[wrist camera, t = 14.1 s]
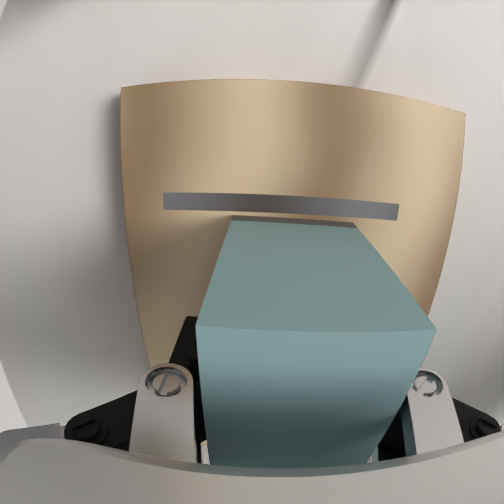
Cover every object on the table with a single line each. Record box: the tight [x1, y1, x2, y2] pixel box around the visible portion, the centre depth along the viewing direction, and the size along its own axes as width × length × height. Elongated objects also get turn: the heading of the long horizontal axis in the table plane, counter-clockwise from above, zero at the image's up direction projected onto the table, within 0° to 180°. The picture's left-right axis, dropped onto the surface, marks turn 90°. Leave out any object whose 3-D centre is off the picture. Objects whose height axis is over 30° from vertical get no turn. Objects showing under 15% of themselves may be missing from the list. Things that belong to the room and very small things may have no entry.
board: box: [120, 79, 466, 446], centre depth 12 cm, size 12×18×1 cm, turn 178°
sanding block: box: [196, 215, 436, 469], centre depth 9 cm, size 7×4×6 cm, turn 178°
